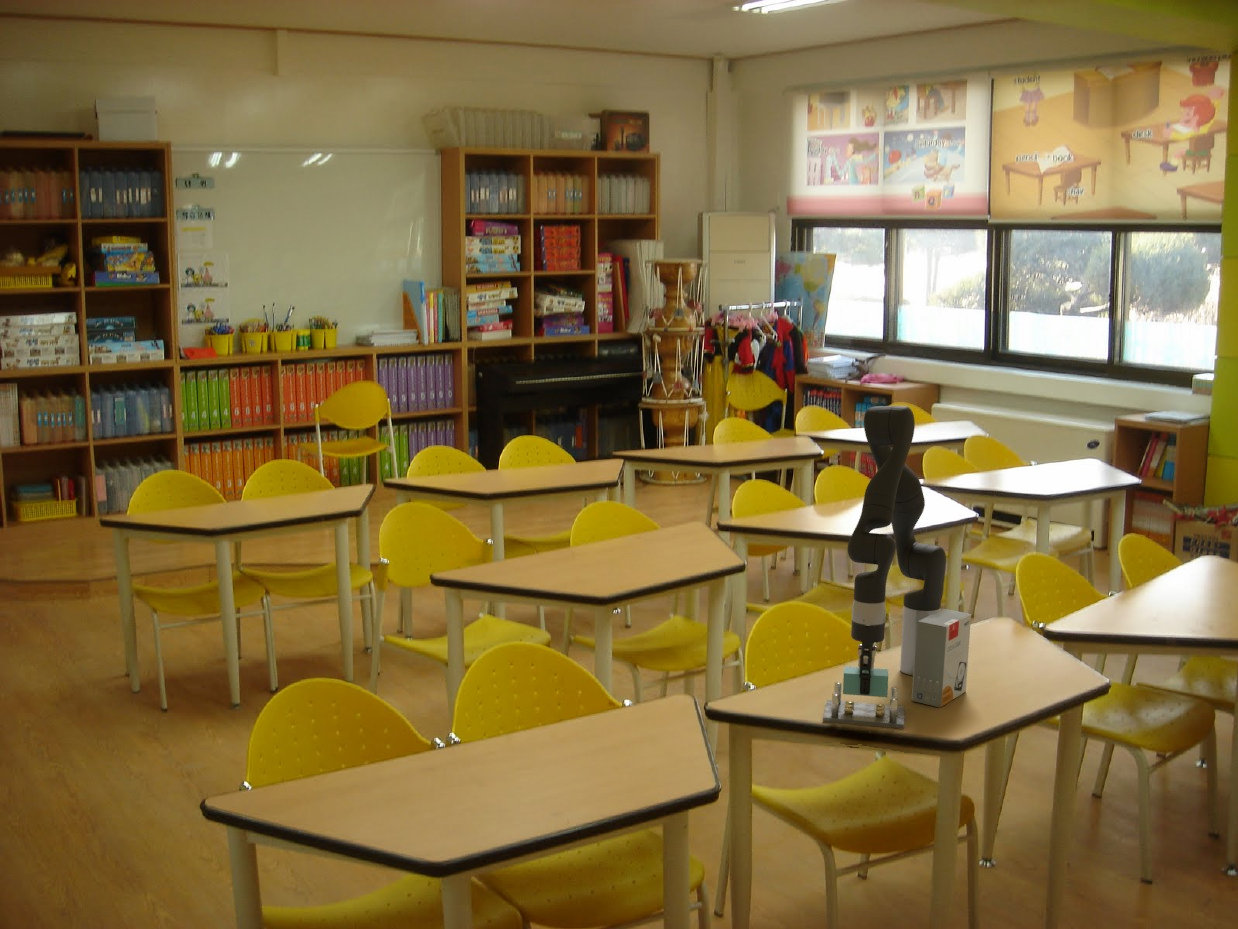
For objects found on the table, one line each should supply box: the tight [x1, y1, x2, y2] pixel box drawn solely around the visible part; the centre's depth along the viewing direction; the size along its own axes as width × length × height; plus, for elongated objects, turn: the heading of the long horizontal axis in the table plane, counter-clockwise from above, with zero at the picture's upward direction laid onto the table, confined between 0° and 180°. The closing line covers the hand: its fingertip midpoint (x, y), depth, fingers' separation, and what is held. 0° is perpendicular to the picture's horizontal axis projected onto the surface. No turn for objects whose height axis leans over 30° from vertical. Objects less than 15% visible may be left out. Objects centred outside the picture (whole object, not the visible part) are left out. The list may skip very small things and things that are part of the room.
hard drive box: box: [911, 608, 972, 708], centre depth 313 cm, size 16×8×20 cm, turn 143°
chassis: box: [822, 681, 906, 730], centre depth 301 cm, size 12×18×6 cm, turn 77°
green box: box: [842, 666, 889, 698], centre depth 300 cm, size 5×10×5 cm, turn 79°
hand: (865, 689), depth 300 cm, fingers closed on green box, 5 cm apart
